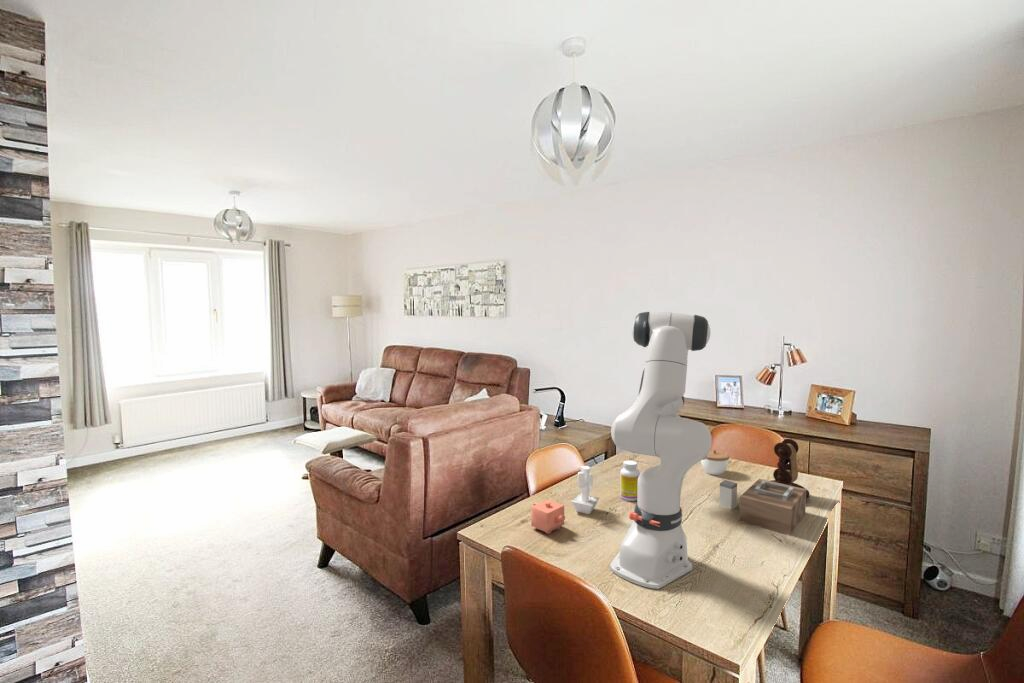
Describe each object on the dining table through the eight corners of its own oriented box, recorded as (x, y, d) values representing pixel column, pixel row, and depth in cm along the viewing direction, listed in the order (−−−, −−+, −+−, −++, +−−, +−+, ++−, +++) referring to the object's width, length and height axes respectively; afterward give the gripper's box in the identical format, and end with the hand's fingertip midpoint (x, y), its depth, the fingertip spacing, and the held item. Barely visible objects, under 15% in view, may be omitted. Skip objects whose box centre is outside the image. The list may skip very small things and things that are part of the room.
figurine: (600, 507, 158) (600, 464, 157) (590, 518, 150) (590, 472, 149) (580, 502, 162) (580, 460, 161) (569, 513, 154) (569, 469, 152)
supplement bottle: (640, 502, 162) (640, 466, 161) (620, 501, 163) (620, 465, 162) (638, 494, 168) (639, 459, 167) (620, 493, 170) (620, 458, 169)
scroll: (800, 508, 156) (803, 449, 154) (754, 495, 167) (756, 440, 165) (815, 496, 165) (817, 441, 164) (770, 484, 176) (772, 432, 175)
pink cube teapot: (556, 540, 137) (555, 513, 136) (526, 526, 145) (526, 501, 144) (572, 531, 142) (572, 504, 141) (543, 518, 151) (543, 493, 150)
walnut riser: (789, 535, 138) (791, 504, 137) (739, 520, 147) (740, 491, 146) (805, 513, 152) (806, 484, 151) (758, 501, 162) (759, 474, 161)
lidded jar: (733, 477, 184) (734, 454, 183) (706, 477, 184) (706, 454, 184) (721, 467, 195) (722, 445, 194) (695, 468, 195) (696, 446, 194)
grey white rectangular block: (731, 509, 155) (731, 486, 155) (719, 505, 158) (719, 482, 158) (736, 506, 158) (737, 483, 157) (724, 502, 161) (725, 479, 160)
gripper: (664, 429, 163) (690, 463, 156) (694, 419, 176) (719, 450, 170) (653, 439, 167) (678, 473, 160) (682, 428, 180) (707, 459, 173)
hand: (699, 461), depth 165 cm, fingers open, 8 cm apart
